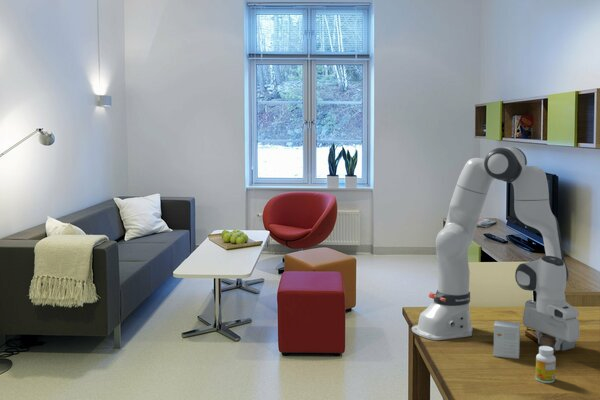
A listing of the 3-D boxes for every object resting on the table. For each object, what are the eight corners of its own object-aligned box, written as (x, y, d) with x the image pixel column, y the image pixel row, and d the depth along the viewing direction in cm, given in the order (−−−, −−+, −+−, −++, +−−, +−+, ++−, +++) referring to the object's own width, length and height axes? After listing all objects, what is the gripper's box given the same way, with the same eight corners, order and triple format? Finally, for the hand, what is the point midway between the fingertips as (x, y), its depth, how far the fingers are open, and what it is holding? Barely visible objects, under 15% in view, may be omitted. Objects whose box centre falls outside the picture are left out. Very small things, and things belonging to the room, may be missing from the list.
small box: (519, 353, 209) (520, 322, 207) (519, 359, 204) (520, 327, 202) (493, 350, 211) (494, 319, 210) (493, 356, 206) (494, 325, 205)
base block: (562, 350, 211) (563, 336, 210) (547, 345, 216) (548, 331, 215) (574, 347, 214) (575, 333, 213) (559, 342, 219) (560, 328, 218)
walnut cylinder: (549, 355, 207) (549, 340, 206) (538, 350, 211) (538, 336, 210) (558, 352, 209) (559, 338, 208) (547, 348, 213) (548, 334, 212)
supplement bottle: (532, 376, 190) (533, 345, 189) (549, 375, 191) (550, 344, 189) (540, 383, 185) (541, 351, 184) (558, 383, 185) (559, 351, 184)
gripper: (519, 299, 215) (517, 338, 217) (569, 316, 197) (567, 358, 199) (532, 297, 218) (530, 335, 220) (583, 312, 200) (581, 354, 202)
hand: (548, 346), depth 209 cm, fingers closed on walnut cylinder, 4 cm apart
